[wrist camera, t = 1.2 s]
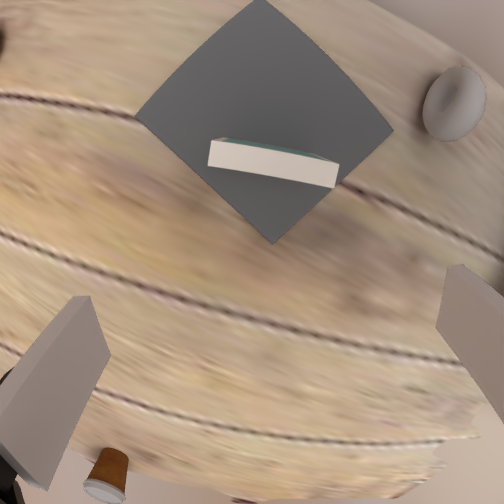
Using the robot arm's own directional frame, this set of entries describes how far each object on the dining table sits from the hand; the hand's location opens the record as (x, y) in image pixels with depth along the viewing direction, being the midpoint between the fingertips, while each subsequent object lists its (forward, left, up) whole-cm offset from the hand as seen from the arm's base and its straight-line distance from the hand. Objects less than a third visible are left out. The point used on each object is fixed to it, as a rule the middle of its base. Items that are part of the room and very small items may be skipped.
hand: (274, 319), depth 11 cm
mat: (+5, -6, -27) cm, 28 cm away
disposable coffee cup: (-18, +63, -27) cm, 71 cm away
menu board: (+2, -3, -27) cm, 27 cm away
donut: (-7, -23, -27) cm, 37 cm away
